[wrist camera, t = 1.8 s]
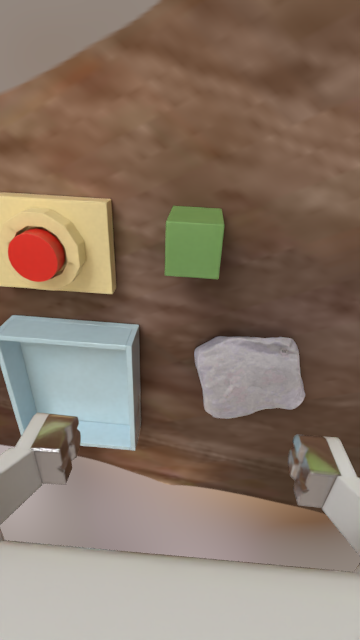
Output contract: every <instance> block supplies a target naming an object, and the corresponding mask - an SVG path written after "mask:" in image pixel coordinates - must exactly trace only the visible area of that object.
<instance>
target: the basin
mask: <svg viewBox="0 0 360 640" xmlns="http://www.w3.org/2000/svg"><path fill="white" fill-rule="evenodd" d="M0 366H1V369H2V372H3V376H4V379H5V383H6V386H7V389H8V393H9V396H10V399H11V403H12V406H13V410H14V413H15V416H16V420H17V423H18V426H19V430H20V433H21V436H22V434H23V433H24V431H25V429H26V428H27V426H28V424H29V423H30V421H31V419H32V417H33V416H34V415H35V414H36V413H47V414H58V415H67V416H76V417H78V421H79V425H78V427H77V429H78V430H79V431H80V434H81V442H80V446H91V447H102V448H113V449H123V450H133V451H135V450H136V446H137V441H138V437H139V432H140V428H141V390H140V345H139V325H137V324H124V323H111V322H97V321H84V320H71V319H58V318H45V317H32V316H19V315H12V316H11V317H10V318H9V319H8V320H7V321H6V322H5V323H4V324H3V325H2V326H0Z"/></svg>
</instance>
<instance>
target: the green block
mask: <svg viewBox="0 0 360 640" xmlns="http://www.w3.org/2000/svg"><path fill="white" fill-rule="evenodd" d="M224 227H225V225H224V220H223V214H222V209H218V208H201V207H185V206H173V208H172V210H171V212H170V214H169V216H168V219H167V221H166V240H165V276H179V277H193V278H207V279H219V271H220V262H221V253H222V244H223V236H224Z"/></svg>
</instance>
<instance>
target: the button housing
mask: <svg viewBox="0 0 360 640" xmlns="http://www.w3.org/2000/svg"><path fill="white" fill-rule="evenodd" d="M29 229H42V230H45V231H47V232H49V233H51V234H52V235H54V236H55V237H56V238H57V239H58V240H59V242H60V243H61V245H62V247H63V249H64V253H65V261H64V264H63V266H62V268H61V269H60V270H59V271H58V272H57V273H56V274H55V275H54V276H53V277H52V278H50V279H49V280H47V281H43V282H35V281H31V280H28V279H26V278H24V277H23V276H21V275H20V274H19V273H18V272H17V271H16V270H15V269H14V268H13V266H12V265H11V263H10V261H9V257H8V247H9V244H10V242H11V240H12V239H13V238H14V237H16V236H18V235H19V234H21V233H23V232H25V231H27V230H29ZM0 286H7V287H21V288H34V289H40V290H54V291H56V290H62V291H75V292H89V293H103V294H113V292H114V291H115V289H116V272H115V255H114V239H113V222H112V205H111V199H102V198H85V197H69V196H53V195H36V194H20V193H4V192H0Z"/></svg>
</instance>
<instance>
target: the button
mask: <svg viewBox="0 0 360 640" xmlns="http://www.w3.org/2000/svg"><path fill="white" fill-rule="evenodd" d="M8 257H9V261H10V263H11V265H12V266H13V268H14V269H15V270H16V271H17V272H18V273H19V274H20V275H21V276H23V277H24V278H26V279H28V280H31V281H35V282H43V281H47V280H49V279H50V278H52V277H53V276H54V275H55V274H56V273H57V272H58V271H59V270H60V269H61V268H62V266H63V264H64V261H65V253H64V249H63V247H62V245H61V243H60V242H59V240H58V239H57V238H56V237H55V236H54V235H52V234H51V233H49V232H47V231H45V230H42V229H29V230H27V231H25V232H23V233H21V234H19V235H18V236H16V237H14V238H13V239H12V240H11V242H10V244H9V247H8Z"/></svg>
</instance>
